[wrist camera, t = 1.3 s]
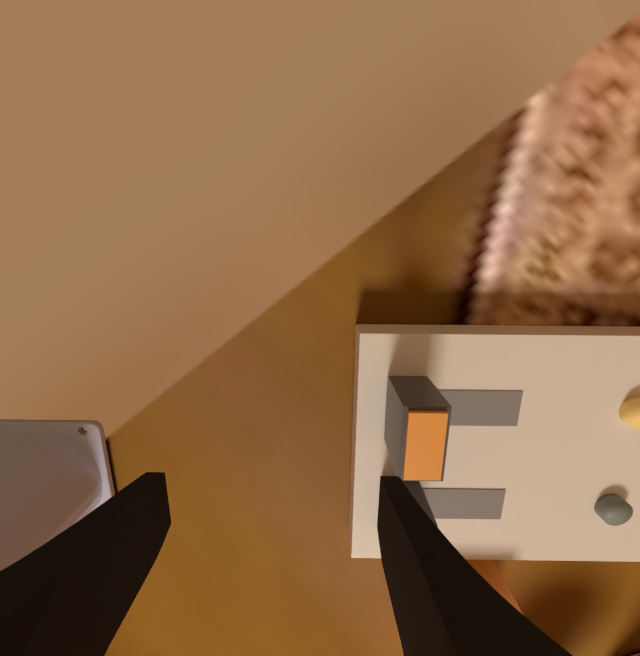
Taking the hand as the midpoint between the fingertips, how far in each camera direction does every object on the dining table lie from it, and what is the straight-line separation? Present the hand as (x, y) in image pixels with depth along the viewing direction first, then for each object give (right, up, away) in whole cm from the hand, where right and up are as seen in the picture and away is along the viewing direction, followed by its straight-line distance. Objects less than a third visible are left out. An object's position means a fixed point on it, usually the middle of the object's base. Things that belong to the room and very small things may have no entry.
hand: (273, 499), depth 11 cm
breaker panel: (+12, -1, +9) cm, 15 cm away
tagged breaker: (+6, +1, +6) cm, 9 cm away
